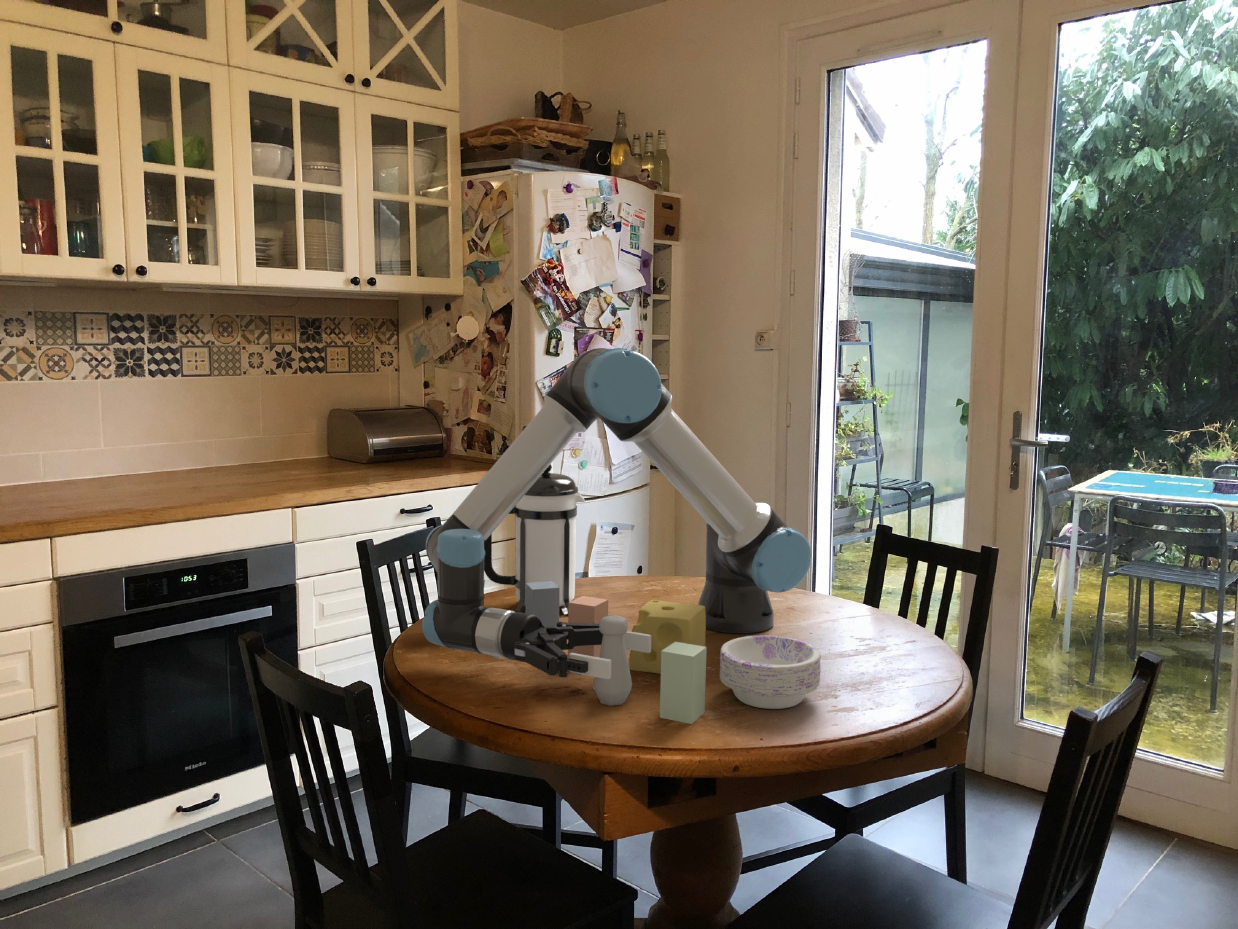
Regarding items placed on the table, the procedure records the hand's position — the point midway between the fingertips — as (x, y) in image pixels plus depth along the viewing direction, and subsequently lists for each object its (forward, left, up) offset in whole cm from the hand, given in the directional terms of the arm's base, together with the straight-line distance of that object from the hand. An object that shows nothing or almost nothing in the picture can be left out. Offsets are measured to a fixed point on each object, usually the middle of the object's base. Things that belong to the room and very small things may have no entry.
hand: (631, 656), depth 145 cm
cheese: (-10, -17, -8) cm, 21 cm away
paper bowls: (-22, 0, -8) cm, 23 cm away
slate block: (+10, -34, -8) cm, 36 cm away
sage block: (-7, +5, -8) cm, 11 cm away
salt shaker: (+2, -2, -8) cm, 8 cm away
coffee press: (+9, -54, -8) cm, 55 cm away
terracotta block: (+4, -22, -8) cm, 24 cm away
